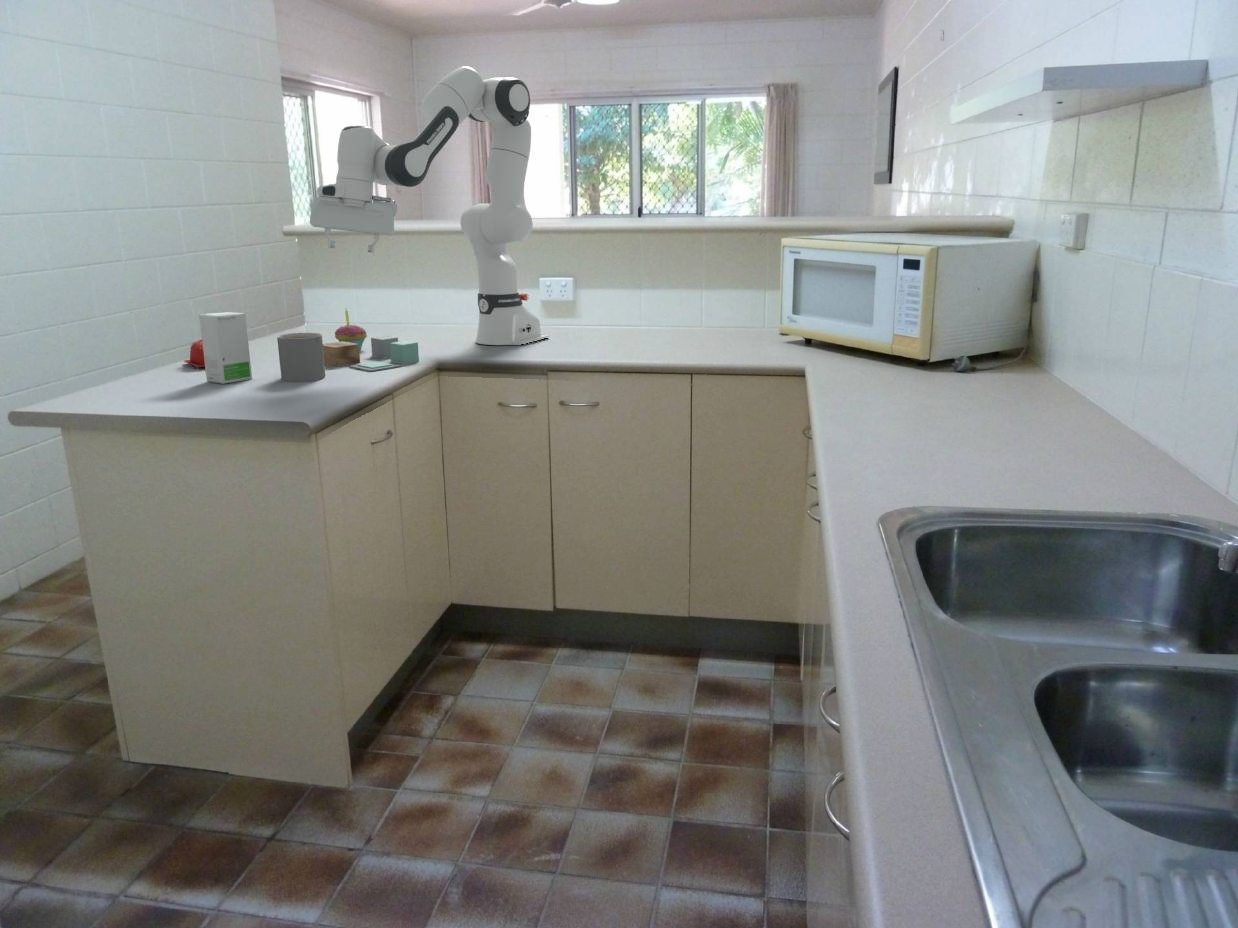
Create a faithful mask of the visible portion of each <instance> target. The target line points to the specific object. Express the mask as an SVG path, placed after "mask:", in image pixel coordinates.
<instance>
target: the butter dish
mask: <svg viewBox="0 0 1238 928" xmlns="http://www.w3.org/2000/svg"><path fill="white" fill-rule="evenodd" d="M183 362H184V363H186V364H189V365H192V366H195V367H196V368H197V367H198V368H201V369H205V360H204V352H203V343H202V339H199V340H197V341H194V342H193V343H192V344H191V345H190V351H189V359H184V360H183Z"/></svg>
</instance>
